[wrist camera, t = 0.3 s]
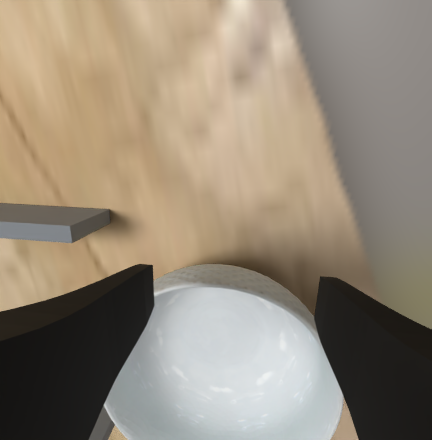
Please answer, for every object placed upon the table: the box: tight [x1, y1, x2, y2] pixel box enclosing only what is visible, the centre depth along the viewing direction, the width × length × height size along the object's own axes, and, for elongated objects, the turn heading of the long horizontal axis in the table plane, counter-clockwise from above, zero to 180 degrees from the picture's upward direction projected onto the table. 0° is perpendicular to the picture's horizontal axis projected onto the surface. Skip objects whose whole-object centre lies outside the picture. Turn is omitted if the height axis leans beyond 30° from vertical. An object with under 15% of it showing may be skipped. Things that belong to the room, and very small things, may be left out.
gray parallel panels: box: [0, 203, 115, 440], centre depth 22 cm, size 21×12×5 cm, turn 178°
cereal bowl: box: [104, 264, 344, 440], centre depth 20 cm, size 17×17×7 cm
